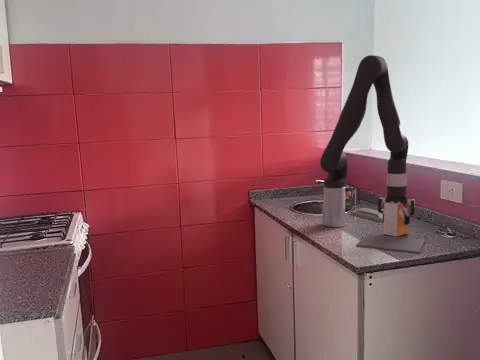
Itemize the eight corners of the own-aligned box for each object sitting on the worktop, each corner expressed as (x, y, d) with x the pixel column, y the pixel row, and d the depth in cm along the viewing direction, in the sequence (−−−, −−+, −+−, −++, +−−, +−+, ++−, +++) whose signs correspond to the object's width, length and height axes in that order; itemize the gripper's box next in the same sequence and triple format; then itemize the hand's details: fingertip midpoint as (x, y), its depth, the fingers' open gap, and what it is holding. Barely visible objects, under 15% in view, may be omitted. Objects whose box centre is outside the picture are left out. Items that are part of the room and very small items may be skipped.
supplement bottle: (344, 206, 237) (344, 185, 236) (353, 208, 233) (353, 187, 231) (337, 208, 234) (337, 187, 232) (346, 210, 229) (346, 188, 227)
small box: (397, 237, 178) (397, 204, 176) (383, 234, 183) (383, 202, 181) (408, 233, 183) (409, 201, 181) (394, 230, 188) (395, 199, 186)
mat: (356, 246, 168) (356, 244, 168) (366, 235, 182) (366, 234, 182) (419, 253, 157) (419, 251, 157) (425, 241, 171) (425, 239, 171)
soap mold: (380, 223, 203) (380, 215, 202) (349, 215, 220) (349, 208, 219) (396, 220, 207) (397, 212, 207) (365, 212, 225) (365, 206, 224)
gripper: (376, 184, 180) (376, 224, 183) (414, 186, 173) (413, 227, 176) (380, 182, 187) (380, 220, 189) (416, 183, 180) (416, 223, 182)
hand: (396, 223), depth 182 cm, fingers closed on small box, 8 cm apart
